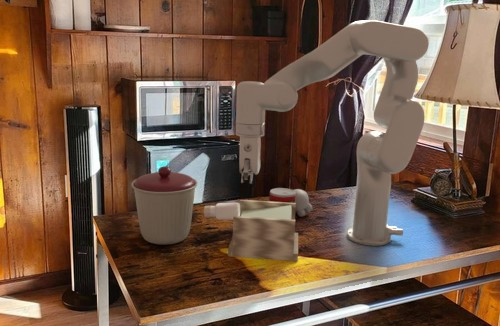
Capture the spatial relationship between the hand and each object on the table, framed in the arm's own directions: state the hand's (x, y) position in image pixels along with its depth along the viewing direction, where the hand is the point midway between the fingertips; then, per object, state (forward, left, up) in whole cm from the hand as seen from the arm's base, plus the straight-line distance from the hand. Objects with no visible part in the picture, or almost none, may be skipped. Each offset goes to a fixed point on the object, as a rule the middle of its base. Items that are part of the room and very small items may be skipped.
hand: (248, 192), depth 133 cm
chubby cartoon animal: (-13, -28, -16) cm, 34 cm away
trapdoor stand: (-5, 0, -16) cm, 16 cm away
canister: (+24, -2, -16) cm, 28 cm away
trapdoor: (-5, 0, -8) cm, 10 cm away
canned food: (-9, -18, -16) cm, 26 cm away
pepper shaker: (+2, 0, -5) cm, 6 cm away
